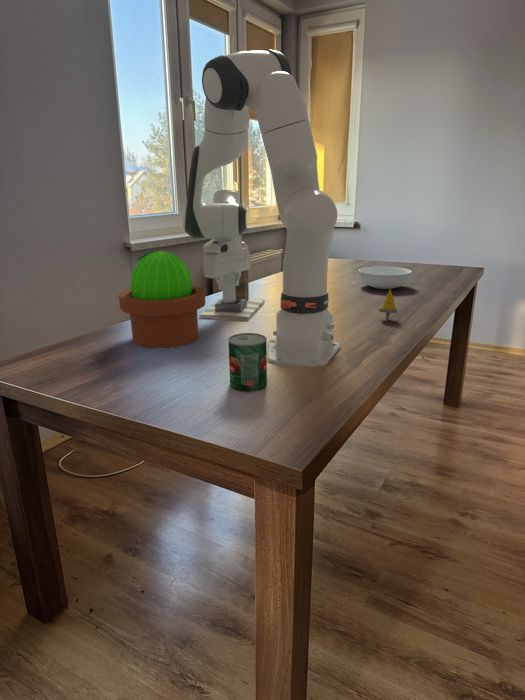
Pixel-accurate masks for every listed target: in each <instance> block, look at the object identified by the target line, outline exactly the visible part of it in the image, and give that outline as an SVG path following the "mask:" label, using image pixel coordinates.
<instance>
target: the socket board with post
mask: <svg viewBox="0 0 525 700" xmlns="http://www.w3.org/2000/svg"><path fill="white" fill-rule="evenodd" d="M249 284H250V283H249V270H245V271H241V276H240V279H239V285H238V286H235V291H236V303H223V297H220V298H219V299H218V300H216V301H215V302H214V303H212V304H211V305H210V306H209V307H207V308H206V309H205V310H203V311H202V312H200V314H199V316H198V317H199V319H204V318H216V319H215V320H223V319H228V320H227V321H241V320H242V322H243V321H245V322H249V321H251V319H252V318H253V317H254V316H255V314H257V312H258V311H259V310H260V309H261V308H262V307H263V306H264V305H265V300H266V299H264V298H263V299H262V298H250V293H249V292H250V291H249V289H250V288H249ZM262 305H263V306H262ZM261 306H262V307H261ZM260 307H261V308H260ZM259 308H260V309H259Z"/></svg>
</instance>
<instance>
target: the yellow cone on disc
mask: <svg viewBox="0 0 525 700" xmlns="http://www.w3.org/2000/svg"><path fill="white" fill-rule="evenodd" d="M378 311H379V312H380V313H385V320H386V322H388V321H389V319H390V315H391V314H397V313H398V309H397V308H396V304H395V300H394V297H393V292H392V289H388V293H387V295H386V297H385V299H384V301H383V303H382V304H381V308H379V310H378Z"/></svg>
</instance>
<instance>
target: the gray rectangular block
mask: <svg viewBox="0 0 525 700" xmlns="http://www.w3.org/2000/svg"><path fill="white" fill-rule="evenodd" d="M222 281H223V283H224V284H225V287H226V288H225V289H224V290H221V291H222V293H221V294H222V298H223V303H236V291H235V271H234V272H231V274H229V275H225V276H223V279H222Z"/></svg>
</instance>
